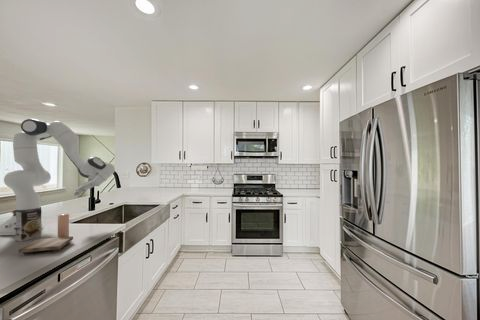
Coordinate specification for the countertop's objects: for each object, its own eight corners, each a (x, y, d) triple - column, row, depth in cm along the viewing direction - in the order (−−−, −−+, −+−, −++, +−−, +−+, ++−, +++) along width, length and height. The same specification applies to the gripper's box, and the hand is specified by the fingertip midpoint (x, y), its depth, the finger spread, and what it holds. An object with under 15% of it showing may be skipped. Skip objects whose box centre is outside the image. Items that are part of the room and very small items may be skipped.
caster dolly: (18, 257, 99) (18, 249, 99) (37, 245, 113) (37, 239, 113) (59, 253, 104) (59, 245, 104) (73, 242, 117) (73, 236, 117)
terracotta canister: (55, 241, 120) (55, 216, 120) (60, 238, 124) (60, 213, 125) (66, 240, 121) (66, 215, 121) (70, 237, 126) (70, 213, 126)
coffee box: (21, 241, 119) (22, 212, 119) (14, 240, 121) (15, 211, 121) (41, 236, 127) (42, 209, 127) (35, 235, 129) (35, 208, 130)
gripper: (83, 180, 148) (66, 193, 137) (102, 171, 141) (85, 183, 129) (89, 187, 151) (73, 200, 139) (108, 178, 144) (93, 191, 132)
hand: (79, 192), depth 134 cm, fingers open, 8 cm apart
